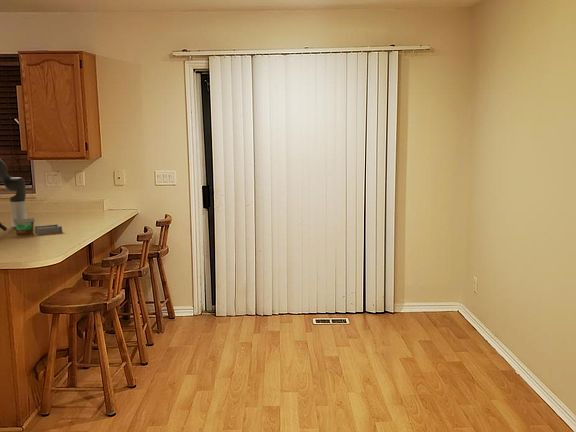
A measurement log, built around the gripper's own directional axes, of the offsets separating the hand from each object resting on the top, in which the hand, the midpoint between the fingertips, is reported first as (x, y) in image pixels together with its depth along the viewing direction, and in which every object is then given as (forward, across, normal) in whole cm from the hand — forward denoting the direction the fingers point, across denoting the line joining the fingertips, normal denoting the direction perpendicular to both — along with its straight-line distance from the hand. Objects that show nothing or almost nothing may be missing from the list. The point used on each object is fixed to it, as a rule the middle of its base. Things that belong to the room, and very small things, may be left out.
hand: (6, 229), depth 364 cm
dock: (+20, 0, -14) cm, 24 cm away
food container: (+10, 0, -4) cm, 11 cm away
